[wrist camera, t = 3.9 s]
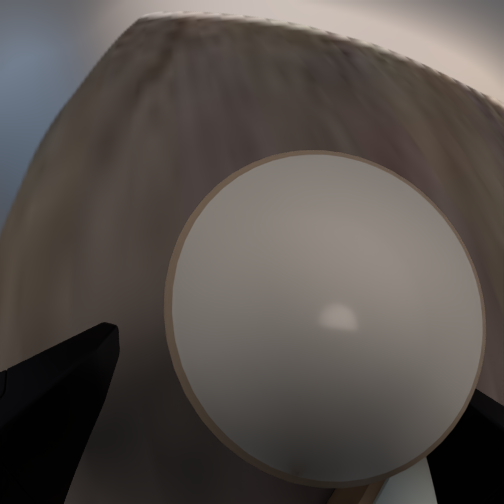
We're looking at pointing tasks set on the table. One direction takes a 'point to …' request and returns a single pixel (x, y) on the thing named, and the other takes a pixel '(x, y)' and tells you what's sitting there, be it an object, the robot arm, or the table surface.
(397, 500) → the plinth
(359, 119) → the table surface
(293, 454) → the tumbler
